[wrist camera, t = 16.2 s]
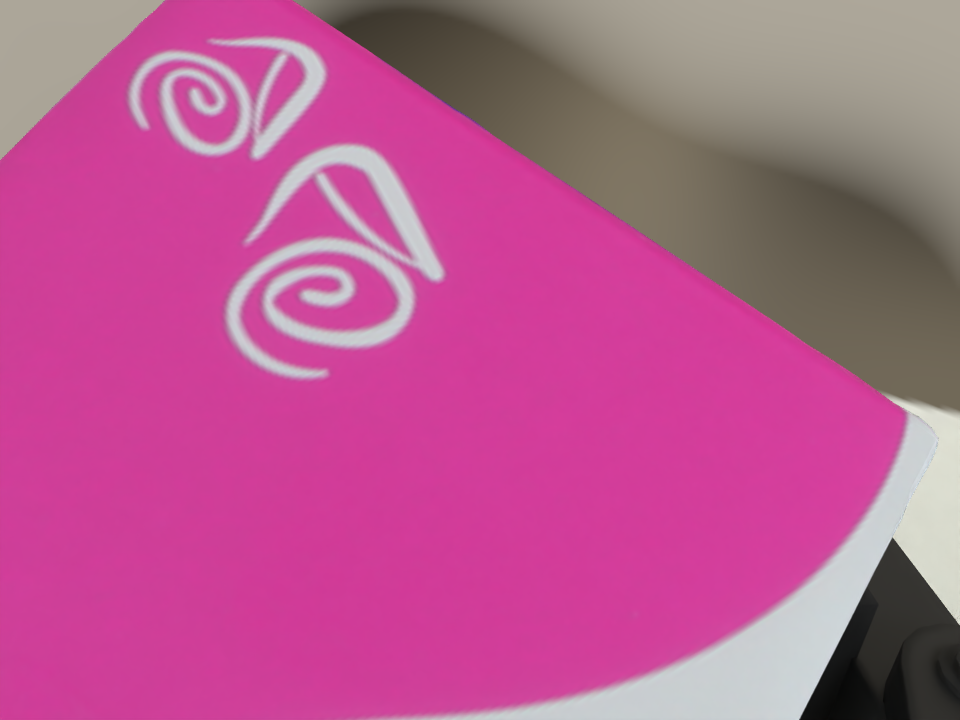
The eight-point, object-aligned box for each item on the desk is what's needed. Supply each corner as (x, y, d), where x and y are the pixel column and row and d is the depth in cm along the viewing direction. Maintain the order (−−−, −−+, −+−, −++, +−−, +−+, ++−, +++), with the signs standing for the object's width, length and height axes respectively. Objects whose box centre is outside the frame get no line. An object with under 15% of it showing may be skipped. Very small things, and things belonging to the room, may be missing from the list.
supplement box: (575, 551, 16) (1002, 443, 5) (387, 843, 14) (378, 1707, 3) (332, 374, 16) (209, -96, 5) (121, 636, 14) (-714, 756, 4)
